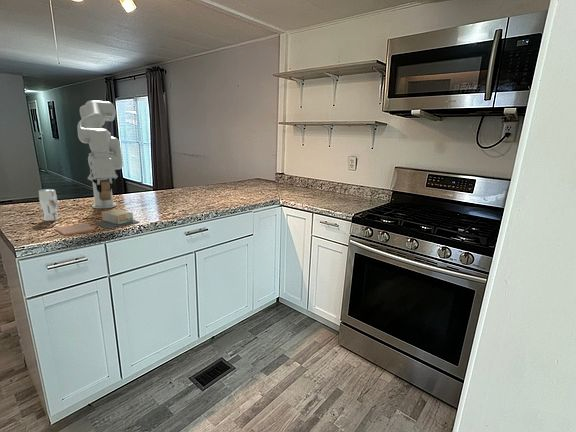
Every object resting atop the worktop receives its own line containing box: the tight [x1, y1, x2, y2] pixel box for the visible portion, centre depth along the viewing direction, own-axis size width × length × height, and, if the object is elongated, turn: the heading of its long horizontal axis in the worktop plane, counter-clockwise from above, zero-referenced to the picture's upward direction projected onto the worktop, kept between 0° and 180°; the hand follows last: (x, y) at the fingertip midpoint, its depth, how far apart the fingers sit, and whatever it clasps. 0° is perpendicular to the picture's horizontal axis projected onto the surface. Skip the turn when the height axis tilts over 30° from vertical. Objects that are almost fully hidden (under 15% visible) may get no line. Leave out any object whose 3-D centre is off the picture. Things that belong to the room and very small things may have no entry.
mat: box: [94, 219, 140, 230], centre depth 155 cm, size 13×16×1 cm
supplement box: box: [101, 208, 134, 224], centre depth 156 cm, size 8×5×13 cm
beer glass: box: [38, 188, 60, 222], centre depth 155 cm, size 7×7×15 cm
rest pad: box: [55, 223, 96, 237], centre depth 142 cm, size 12×12×1 cm
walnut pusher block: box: [99, 179, 111, 201], centre depth 159 cm, size 4×4×10 cm
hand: (104, 191), depth 159 cm, fingers closed on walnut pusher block, 4 cm apart
